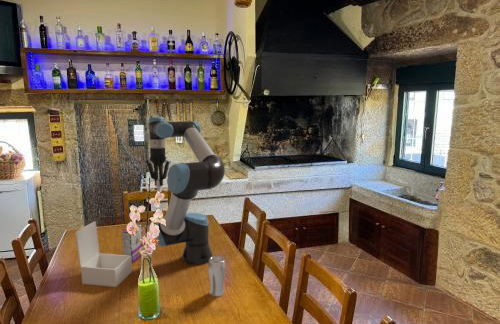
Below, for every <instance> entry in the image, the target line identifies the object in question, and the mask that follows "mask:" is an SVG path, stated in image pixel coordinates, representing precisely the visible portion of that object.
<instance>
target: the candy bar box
mask: <svg viewBox="0 0 500 324" xmlns="http://www.w3.org/2000/svg"><path fill="white" fill-rule="evenodd" d="M137 225H138V227H139V231H138V232H137V233H136V236H133V235H130V234H129V233H128V232H127V230H126V229H124V230H123V231H122V232H121V239H122V251H123V254H122V255H127V256H131V263H132V264H134V263H135V262H136V261H137V260H138V259H139V258H140V257H142V256H141V255H140V253H139V249H140V248H141V247H142V246H143V242H142V243H141V242H140V238H142V239H143V233H142V224H137Z"/></svg>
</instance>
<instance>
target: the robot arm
mask: <svg viewBox="0 0 500 324" xmlns="http://www.w3.org/2000/svg"><path fill="white" fill-rule="evenodd" d="M148 129H149V130H148V131H149V147H150V148H149V152H150V153H149V155H150V157H149V158H148V160H146V161H145V163H146V165H147V167H148V171H149V175H150V179H151V180H154V186H155V187H156V192H157V191H159V192H160V193H162V192H163V190H162V187H163V186H164V180H165V179H166V184H167V185H166V186H167V188H168V191H169V192H170V193H171V196H170V200H169V203H168V207H167V210H166V214H165V215H164V216H163V217H162V218H164V219H165V220H166V226H165V225H163V224H160V223H158V222H156V223H157V224H156V225H158V226H159V230H160V233H159V236H158V237H157V239H158V240H159V242H157V245H158V246H159V247H168V246H173V245H177V244H183V243H185V245H184V249H183V252H182V262H183V263H185V264H187V265H192V266H197V265H198V266H199V265H200V266H201V265H204V264H207V263H209V259H210V258H211V257H213V252H212V249H211V247H210V246H211V245H210V243H209V241H210V240H209V237H210V235H209V225H210V224H209V218H208V216H207V215H205V214H203V213H199V212H188V209H189V207H190V205H191V201H192V200H193V199H195V198H196V197H197V195H198V194H199V191H204V190H211V189H214V188H216V187H218V186H219V185H220V184H221V182H222V181H223V179H224V178H225V173H226V171H225V170H226V168H225V164H224V162H223V160H222V159H221V157H220V156H219V155H218V154H215V153H214V150H212V148H211V147H210V146H209V144H208V143H207V141H206V140H205V138H204V137H203V136H202V134H201V126H200V123H199V122H198V121H192V120H189V121H165V117H163V116H150V117H149V118H148ZM168 138H169V139H170V138H184V139H185V141H186V142H187V145H188V146H189V147H190V149H191V152H192V153H193V154H194V155H195V157H196V159H197V160H198V161H195V162H194V161H193V162H179V163H173V164H172V165H171V166H170V164H171V162H172V161H171V160H169V159H167V157H166V139H168ZM164 164H165V165H164ZM163 167H164V168H163ZM157 239H156V240H157Z"/></svg>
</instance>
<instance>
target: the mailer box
mask: <svg viewBox="0 0 500 324" xmlns="http://www.w3.org/2000/svg"><path fill="white" fill-rule="evenodd" d="M80 271H81V273H80V274H81V283H82V285H90V286H100V287H102V286H103V287H108V288H109V287H111V288H117V287H118V286H119V285H120V284H121V283H122V282H123V281H124V280H125V279H127V277H128V276H129V275H130V274H131V273H132V272H133V267H132V263H131V256H127V255H124V254H113V253H101V252H99V254H98V255H96V256H95V257H93V258H92V259H91V260H89V261H88V262H87V263H85V264H84V265H82V266H81V267H80Z"/></svg>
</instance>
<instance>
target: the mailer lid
mask: <svg viewBox="0 0 500 324" xmlns="http://www.w3.org/2000/svg"><path fill="white" fill-rule="evenodd" d="M74 233H75V241H76V249H77V255H78V256H77V257H78V264H79V267H80V268H81V266H83V265H84V264H86V263H87V262H88V261H90V260H91V259H92V258H94V257H95V256H96V255H98V254H99V253H100V245H99V240H98V239H99V237H98V227H97V222H96V221H95V220H94V221H92V222H91V223H89V224H86V225H85V226H82V227H81V228H80V229H78V230H76V231H74Z"/></svg>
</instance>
